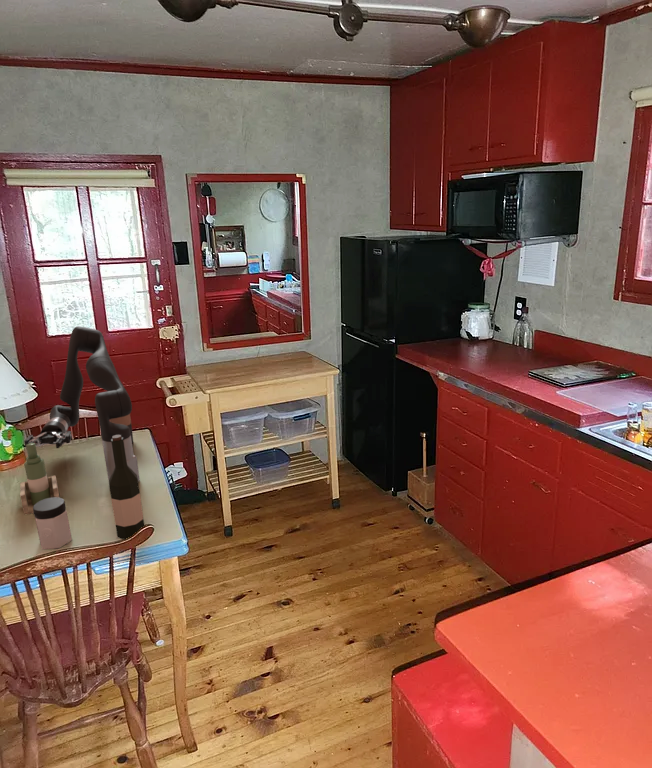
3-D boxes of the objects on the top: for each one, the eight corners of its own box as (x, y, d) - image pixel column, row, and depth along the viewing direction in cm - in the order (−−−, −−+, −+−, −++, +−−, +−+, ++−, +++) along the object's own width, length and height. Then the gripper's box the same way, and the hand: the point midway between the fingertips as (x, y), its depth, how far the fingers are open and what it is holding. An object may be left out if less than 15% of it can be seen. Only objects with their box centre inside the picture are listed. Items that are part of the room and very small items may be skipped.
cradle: (24, 500, 186) (20, 482, 185) (58, 493, 191) (55, 475, 189) (24, 514, 178) (20, 496, 176) (60, 506, 182) (57, 487, 180)
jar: (33, 550, 158) (25, 512, 155) (45, 534, 166) (38, 497, 163) (66, 548, 159) (59, 510, 155) (77, 532, 167) (70, 496, 163)
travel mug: (129, 438, 235) (122, 392, 230) (137, 443, 230) (130, 396, 224) (111, 444, 231) (103, 397, 225) (118, 449, 225) (111, 401, 219)
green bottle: (55, 498, 186) (44, 441, 180) (42, 507, 181) (30, 449, 175) (41, 496, 188) (30, 440, 182) (28, 504, 183) (16, 447, 177)
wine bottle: (140, 539, 162) (126, 441, 153) (111, 539, 162) (95, 442, 153) (149, 523, 170) (136, 430, 161) (122, 524, 170) (107, 431, 161)
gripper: (31, 422, 204) (18, 439, 188) (73, 418, 206) (64, 434, 191) (35, 442, 206) (22, 460, 191) (77, 437, 209) (68, 454, 193)
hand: (43, 447), depth 191 cm, fingers open, 8 cm apart
